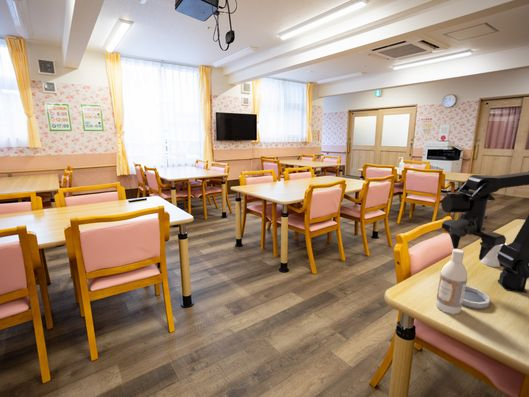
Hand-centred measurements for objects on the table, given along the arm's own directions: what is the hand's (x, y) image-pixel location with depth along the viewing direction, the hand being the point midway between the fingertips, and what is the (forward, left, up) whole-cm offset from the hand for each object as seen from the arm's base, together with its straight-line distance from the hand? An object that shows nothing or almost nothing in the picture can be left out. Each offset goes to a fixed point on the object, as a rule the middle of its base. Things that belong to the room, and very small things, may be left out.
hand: (467, 254), depth 102 cm
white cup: (-19, -25, -13) cm, 34 cm away
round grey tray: (+1, +8, -13) cm, 15 cm away
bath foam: (+9, +16, -13) cm, 23 cm away
